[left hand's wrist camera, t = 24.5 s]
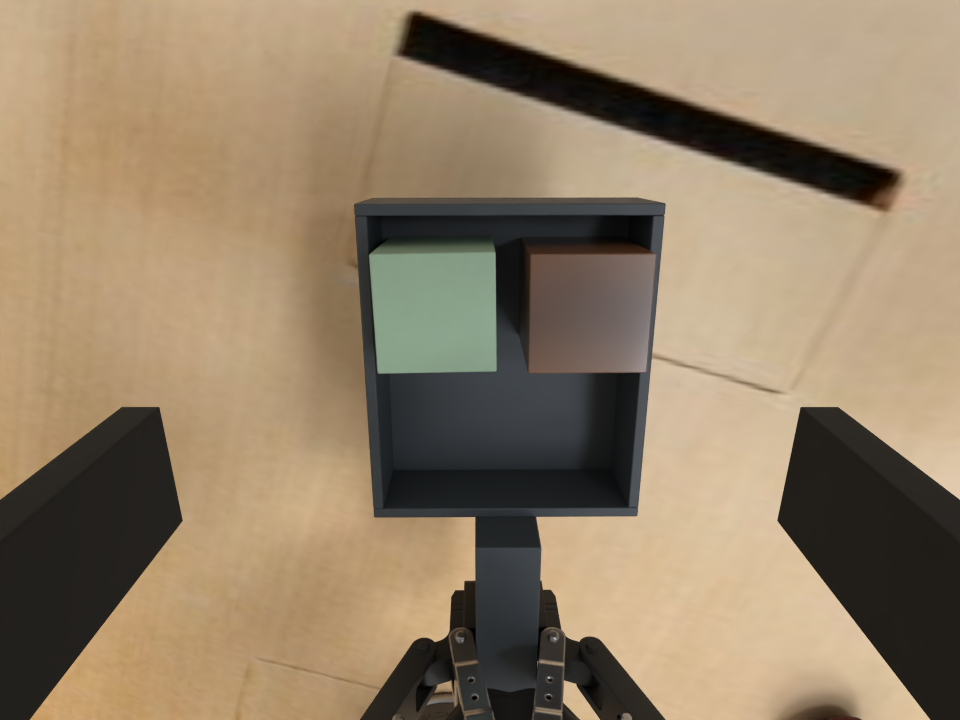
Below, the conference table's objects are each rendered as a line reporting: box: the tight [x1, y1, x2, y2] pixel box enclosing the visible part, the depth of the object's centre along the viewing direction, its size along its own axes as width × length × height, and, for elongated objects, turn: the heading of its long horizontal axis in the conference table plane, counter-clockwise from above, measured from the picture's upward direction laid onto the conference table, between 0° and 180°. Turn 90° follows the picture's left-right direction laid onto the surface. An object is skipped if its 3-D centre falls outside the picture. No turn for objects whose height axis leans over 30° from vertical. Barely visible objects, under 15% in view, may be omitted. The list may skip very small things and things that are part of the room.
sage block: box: [369, 235, 497, 374], centre depth 27 cm, size 5×5×6 cm
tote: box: [354, 198, 665, 692], centre depth 30 cm, size 26×13×7 cm, turn 0°
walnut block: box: [519, 236, 656, 374], centre depth 27 cm, size 5×5×6 cm
